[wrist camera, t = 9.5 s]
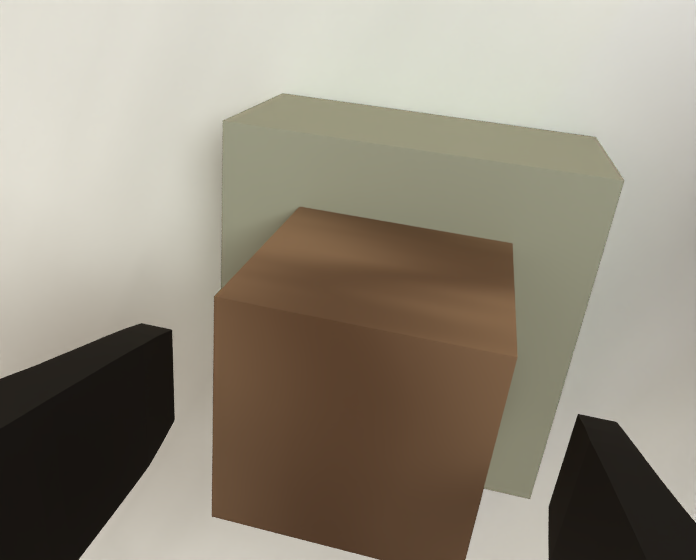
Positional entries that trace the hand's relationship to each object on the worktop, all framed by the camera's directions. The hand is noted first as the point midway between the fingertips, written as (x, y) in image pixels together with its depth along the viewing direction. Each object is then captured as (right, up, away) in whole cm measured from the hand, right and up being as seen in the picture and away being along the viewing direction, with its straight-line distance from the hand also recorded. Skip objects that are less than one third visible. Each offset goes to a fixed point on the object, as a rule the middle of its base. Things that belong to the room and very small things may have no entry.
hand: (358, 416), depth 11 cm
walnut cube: (+1, +2, +3) cm, 4 cm away
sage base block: (+2, +3, +7) cm, 8 cm away
